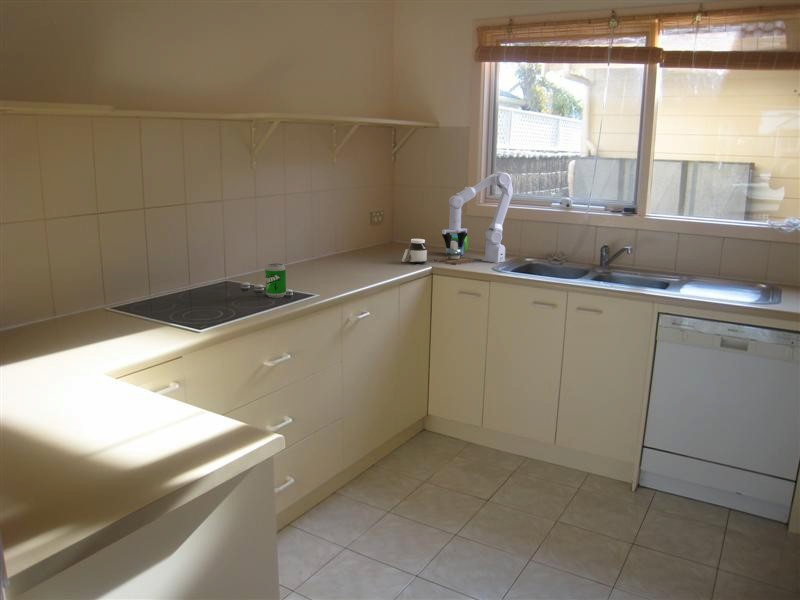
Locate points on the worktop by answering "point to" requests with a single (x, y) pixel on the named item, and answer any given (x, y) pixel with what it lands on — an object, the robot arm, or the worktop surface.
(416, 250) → the spread jar
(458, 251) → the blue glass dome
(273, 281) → the soda can
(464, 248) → the snack cup
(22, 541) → the worktop surface
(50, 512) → the worktop surface
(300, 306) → the worktop surface
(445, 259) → the base plate
